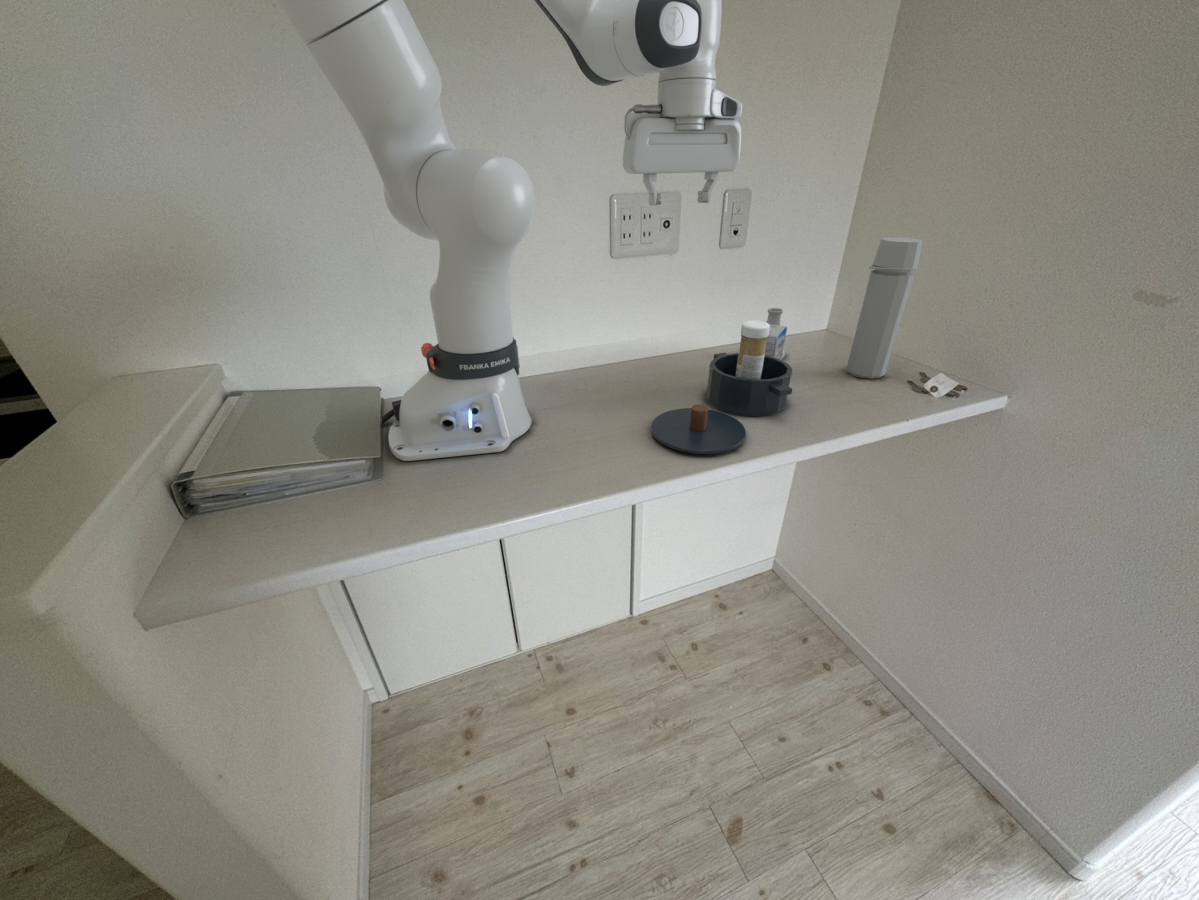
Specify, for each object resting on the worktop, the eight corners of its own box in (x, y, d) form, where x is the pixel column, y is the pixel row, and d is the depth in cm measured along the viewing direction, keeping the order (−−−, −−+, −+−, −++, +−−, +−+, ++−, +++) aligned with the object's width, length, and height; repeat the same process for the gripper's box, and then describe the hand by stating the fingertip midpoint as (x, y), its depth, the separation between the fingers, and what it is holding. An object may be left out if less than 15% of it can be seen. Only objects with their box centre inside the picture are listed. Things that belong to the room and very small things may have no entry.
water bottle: (892, 381, 96) (934, 242, 83) (849, 379, 97) (884, 242, 84) (876, 364, 104) (913, 235, 91) (837, 363, 105) (867, 235, 92)
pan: (745, 429, 80) (751, 392, 76) (685, 386, 95) (688, 354, 92) (813, 414, 84) (821, 379, 81) (745, 376, 99) (749, 344, 96)
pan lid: (680, 466, 70) (683, 437, 68) (635, 423, 82) (636, 397, 80) (764, 445, 75) (769, 418, 73) (710, 407, 87) (713, 383, 84)
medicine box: (771, 380, 97) (778, 336, 93) (748, 376, 99) (755, 333, 95) (780, 367, 103) (788, 326, 99) (759, 363, 105) (765, 323, 101)
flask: (781, 349, 113) (789, 305, 107) (788, 360, 106) (797, 314, 101) (748, 349, 113) (755, 304, 108) (754, 360, 107) (761, 313, 102)
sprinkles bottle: (734, 390, 92) (744, 318, 85) (759, 394, 90) (771, 321, 84) (730, 400, 88) (740, 325, 81) (756, 404, 87) (768, 328, 80)
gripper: (633, 101, 72) (632, 207, 79) (751, 104, 78) (740, 202, 85) (616, 105, 77) (616, 205, 84) (728, 108, 83) (719, 200, 90)
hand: (679, 203), depth 84 cm, fingers open, 8 cm apart
